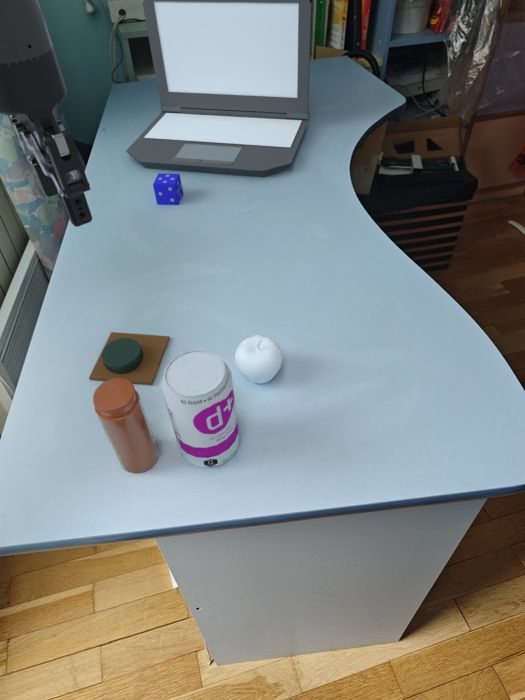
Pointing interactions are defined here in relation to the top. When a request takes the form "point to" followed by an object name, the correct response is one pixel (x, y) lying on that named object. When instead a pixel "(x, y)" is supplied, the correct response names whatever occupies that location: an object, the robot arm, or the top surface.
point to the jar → (126, 424)
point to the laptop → (227, 85)
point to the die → (168, 188)
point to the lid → (122, 355)
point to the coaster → (149, 366)
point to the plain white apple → (258, 358)
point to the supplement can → (202, 407)
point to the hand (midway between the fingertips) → (68, 207)
